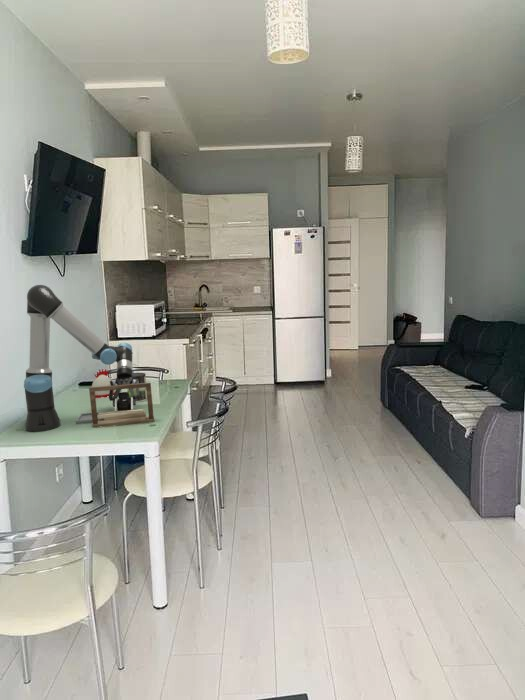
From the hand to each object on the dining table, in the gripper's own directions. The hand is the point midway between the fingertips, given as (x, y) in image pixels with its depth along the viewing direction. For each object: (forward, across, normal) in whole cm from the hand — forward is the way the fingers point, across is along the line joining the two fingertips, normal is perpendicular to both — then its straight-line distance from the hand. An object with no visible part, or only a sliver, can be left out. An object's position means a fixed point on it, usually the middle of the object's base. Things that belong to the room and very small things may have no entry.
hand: (124, 411), depth 254 cm
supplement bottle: (+1, 0, -6) cm, 6 cm away
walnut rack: (+7, 0, +1) cm, 7 cm away
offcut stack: (+6, +1, +2) cm, 7 cm away
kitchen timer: (-39, +18, -45) cm, 63 cm away
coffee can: (-25, -3, -31) cm, 40 cm away
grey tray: (-2, +16, -7) cm, 17 cm away
